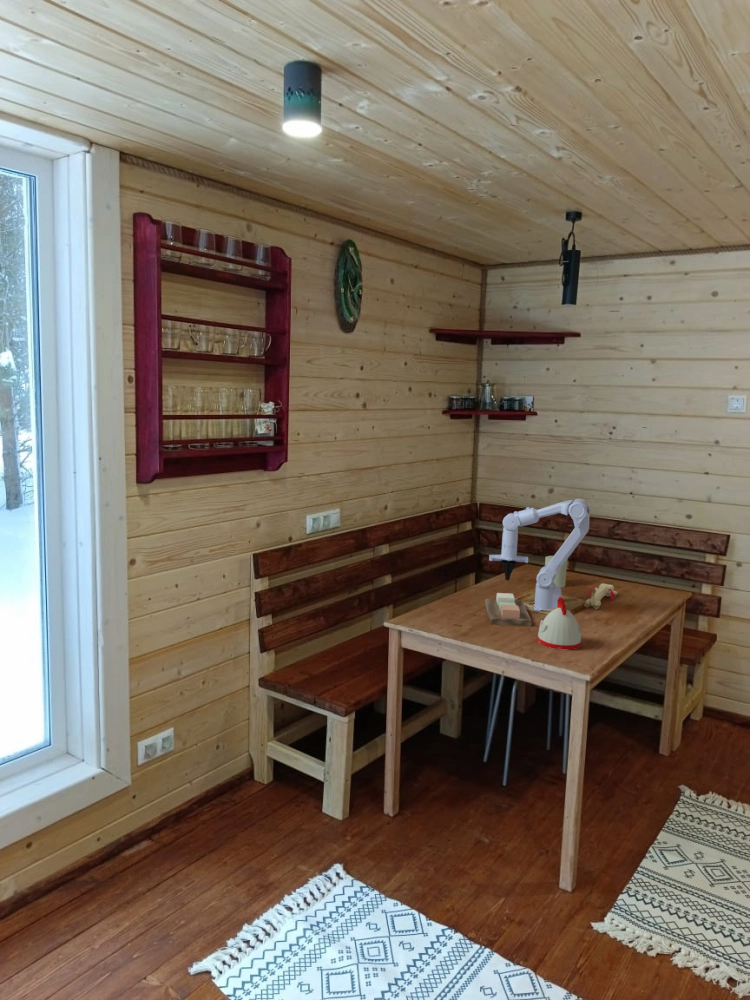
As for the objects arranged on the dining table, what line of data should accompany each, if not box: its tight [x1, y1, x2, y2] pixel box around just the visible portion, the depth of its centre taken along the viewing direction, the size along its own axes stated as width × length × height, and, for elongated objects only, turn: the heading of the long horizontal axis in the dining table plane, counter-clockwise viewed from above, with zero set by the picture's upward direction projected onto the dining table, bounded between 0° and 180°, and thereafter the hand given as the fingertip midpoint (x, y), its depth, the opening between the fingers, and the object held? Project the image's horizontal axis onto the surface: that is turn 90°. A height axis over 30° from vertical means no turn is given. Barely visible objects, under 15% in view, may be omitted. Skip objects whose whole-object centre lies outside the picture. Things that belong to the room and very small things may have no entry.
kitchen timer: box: [537, 596, 582, 650], centre depth 248 cm, size 14×14×15 cm
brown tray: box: [484, 598, 532, 627], centre depth 276 cm, size 14×24×2 cm, turn 177°
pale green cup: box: [544, 555, 568, 589], centre depth 318 cm, size 9×9×12 cm
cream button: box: [495, 592, 515, 605], centre depth 283 cm, size 6×6×4 cm
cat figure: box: [583, 583, 618, 610], centre depth 298 cm, size 10×9×25 cm
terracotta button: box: [500, 605, 520, 619], centre depth 268 cm, size 6×6×4 cm
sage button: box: [498, 602, 516, 612], centre depth 276 cm, size 6×6×4 cm
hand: (507, 579), depth 288 cm, fingers closed
